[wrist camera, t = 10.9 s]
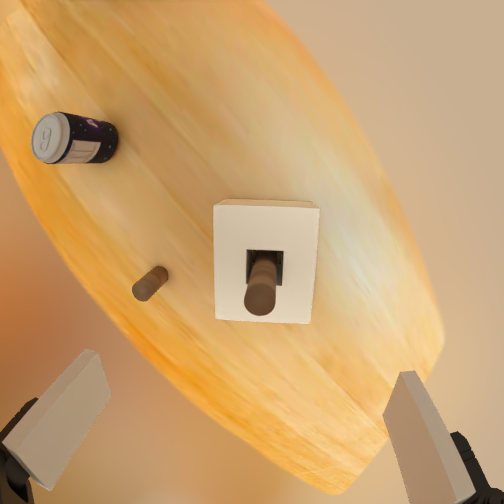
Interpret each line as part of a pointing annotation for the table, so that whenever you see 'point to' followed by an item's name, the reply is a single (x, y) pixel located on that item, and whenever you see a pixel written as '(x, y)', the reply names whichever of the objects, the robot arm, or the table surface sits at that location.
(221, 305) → the hole block
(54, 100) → the table surface
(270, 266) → the long pin
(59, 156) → the beverage can
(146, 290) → the short pin
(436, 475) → the robot arm
